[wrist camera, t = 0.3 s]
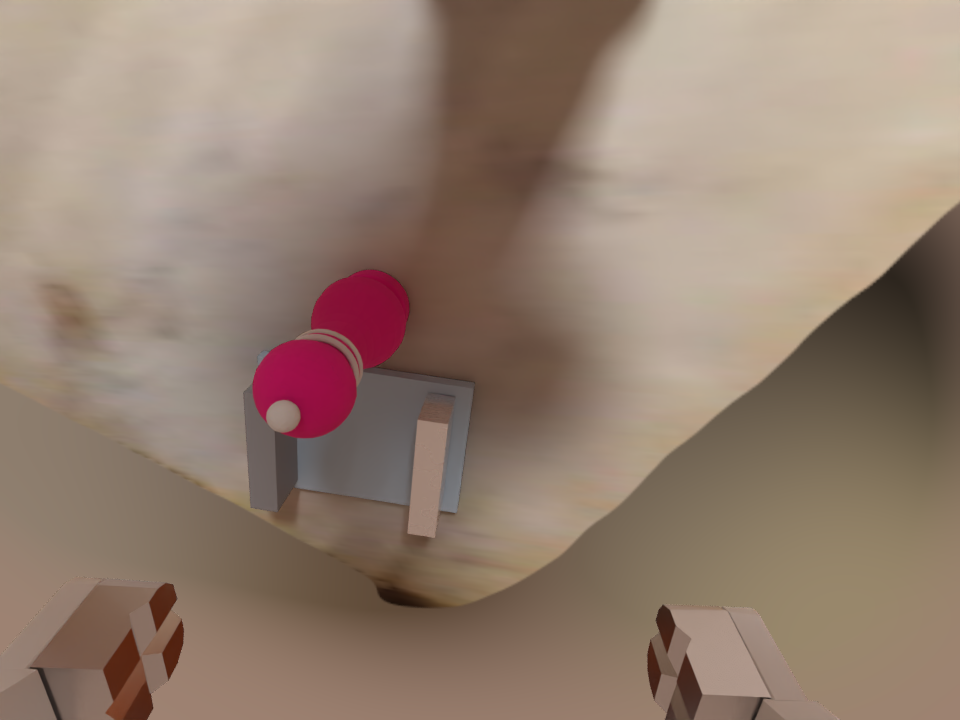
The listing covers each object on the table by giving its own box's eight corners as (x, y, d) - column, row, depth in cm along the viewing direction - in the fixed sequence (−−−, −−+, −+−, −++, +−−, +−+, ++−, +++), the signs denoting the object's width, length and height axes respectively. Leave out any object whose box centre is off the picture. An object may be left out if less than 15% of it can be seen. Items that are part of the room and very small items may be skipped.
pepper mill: (326, 264, 46) (194, 363, 28) (411, 261, 46) (331, 361, 28) (340, 344, 49) (228, 480, 31) (419, 342, 49) (352, 480, 31)
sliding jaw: (427, 392, 49) (417, 419, 45) (455, 396, 49) (448, 424, 45) (417, 499, 54) (407, 533, 50) (442, 503, 54) (434, 537, 50)
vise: (263, 350, 50) (230, 379, 45) (474, 382, 50) (467, 416, 44) (268, 475, 56) (240, 514, 51) (458, 505, 56) (450, 548, 50)
